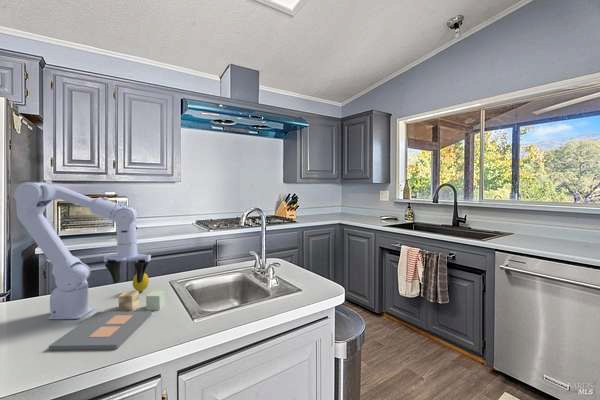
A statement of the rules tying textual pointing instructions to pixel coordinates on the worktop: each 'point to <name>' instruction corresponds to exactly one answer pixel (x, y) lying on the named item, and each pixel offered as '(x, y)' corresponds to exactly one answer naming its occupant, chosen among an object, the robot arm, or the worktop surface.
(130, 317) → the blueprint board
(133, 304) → the maple block
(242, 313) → the worktop surface
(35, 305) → the worktop surface
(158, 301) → the sage block
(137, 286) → the lemon
